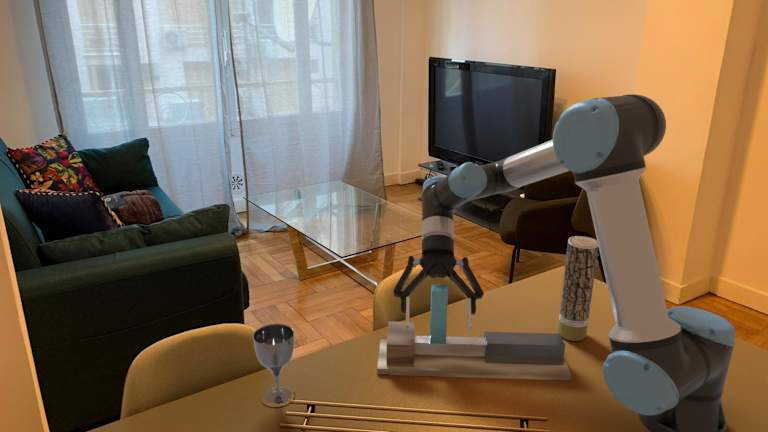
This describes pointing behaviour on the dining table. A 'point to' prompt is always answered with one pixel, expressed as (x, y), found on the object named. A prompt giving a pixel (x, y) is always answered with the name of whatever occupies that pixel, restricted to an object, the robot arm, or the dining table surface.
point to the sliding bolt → (438, 326)
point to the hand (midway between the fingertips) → (438, 327)
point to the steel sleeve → (524, 348)
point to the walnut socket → (400, 344)
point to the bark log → (577, 287)
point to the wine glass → (275, 355)
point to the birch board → (470, 367)
